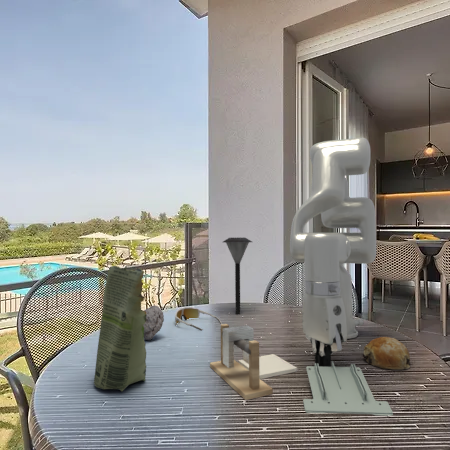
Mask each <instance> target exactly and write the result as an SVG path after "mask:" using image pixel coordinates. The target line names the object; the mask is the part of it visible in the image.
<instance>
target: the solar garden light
mask: <svg viewBox="0 0 450 450" xmlns="http://www.w3.org/2000/svg"><path fill="white" fill-rule="evenodd" d="M222 243H225V244H226V246H227V248H228V250H229V252H230V256H231V257H232V259H233V262H234V267H235V268H234V269H235V271H234V273H235V274H234V275H235V276H234V278H235V279H234V280H235V281H234V282H235V283H234V284H235V285H234V286H235V287H234V289H235V291H234V292H235V294H234V295H235V315H236V314H239V315H241V262H242V260H243V257H244V254H245V253H246V250H247V248H248V246H249V244H250V243H253V241H252V240H250V239H249V238H246V237H228V238H227V239H225V240H223V241H222Z"/></svg>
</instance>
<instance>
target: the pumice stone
mask: <svg viewBox="0 0 450 450" xmlns="http://www.w3.org/2000/svg"><path fill="white" fill-rule="evenodd" d="M143 311H145V312H146V314H147V315H146V322H145V324H144V325H143V326H144V341H151V340H152V339H153V338H154V337H155V336H156V335H157V334H158V333H159V332H160V331H161V329H162V326H163V324H164V321H165V318H164V312H163V311H162V309H161V308H160V306H157V305H151V306H150V307H148V308H146V309H144V310H143Z"/></svg>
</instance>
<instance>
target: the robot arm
mask: <svg viewBox="0 0 450 450" xmlns="http://www.w3.org/2000/svg"><path fill="white" fill-rule="evenodd" d="M309 157H310V162H311V165H312V172H311V173H312V175H311V176H312V177H311V191H310V192H311V193H310V196H309V197H308V198H307V199H306V200H305V201H304V202H303V203H302V204H301V205H300V207H299V208H298V210H297V211H296V212H295V214H294V216H293V219H292V222H291V228H290V236H289V239H290V240H289V253H290V256H291V258H292V259H293V261H295V262H298V263H303V264H304V267H303V268H304V295H303V301H302V310H301V311H302V312H301V320H302V321H301V326H302V332H303V334H304V335H305V338H306V340H308V341H309V342H310V343H311V345H312V352H313V353H314V364H315V363H316V366H317V363H318V364H319V367H332V355H333V354H334V352H341V351H342V350H343V347H342V343H346V342H347V340H348V339H349V340H350V339H355V338H357V337H358V336H359V331H358V330H357V329H356V327H357V326H363V325H364V320H363V318H359V319H357V318H356V319H355V318H353V290H352V289H353V287H352V286H353V279H352V275H351V274H350V272H349V271H348V270H347V268H346V267H344V264H361V265H362V264H363V265H364V264H365V265H366V264H371V263H373V262H375V260H376V256H377V223H376V216H377V215H376V207H375V205H374V204H375V203H374V201H373V200H372V199H370V198H369V197H361V196H358V197H357V196H356V197H350V193H349V189H350V188H349V187H350V186H349V183H350V182H349V181H348V179H347V177H346V176H359V175H360V176H361V175H365V174H366V173H367V172H369V169H370V165H371V145H370V142H369V139H367V138H365V137H354V138H353V137H352V138H345V139H334V140H324V141H321V142H317V143H315V144H313V145H312V146H311V147H310V149H309ZM319 215H320V216H321V223H322V224H323V226H324V227H326V228H329V229H358V230H359V231H360V232H346V231H345V232H304V229H305V227H306V225H307V223H308V222H310V220H312V219H313V218H315V217H316V216H319Z"/></svg>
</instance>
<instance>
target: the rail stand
mask: <svg viewBox="0 0 450 450" xmlns="http://www.w3.org/2000/svg"><path fill="white" fill-rule="evenodd" d="M223 328H230V325H229V324H227V323H222V324H221V323H220V360H217V361H212V362H209V367H210V369H212V371H214V372H215V373H216V374H217V375H218V376H219V377H220V378H221V379H222V380H224V381H225V382H226V383H227V384H228V386H229V387H231V389H233V390H234V391H235V392H236V393H237V394H239V395H240V397H241V398H243V399H244V400H245V401H248V400H253V399H256V398H262V397H266V396H269V395H273V394H274V393H273V392H274V389H273V388H272V387H271V386H270V385H269V384H267V383H266V382H265V381H263V379H259V356H260V342H259V341H257V340H254V341H249V343H247V342H246V341H244V340H236V341H234V346H236V347H237V348H239V349H241V350H243V351H245V352H246V353H248V354H249V371H248V370H247V369H246V368H244V367H243V366H242V365H241V364H239V363H238V361H236V359H234V367H232V368H228V367H227V366H226V365H224V364H223Z"/></svg>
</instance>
